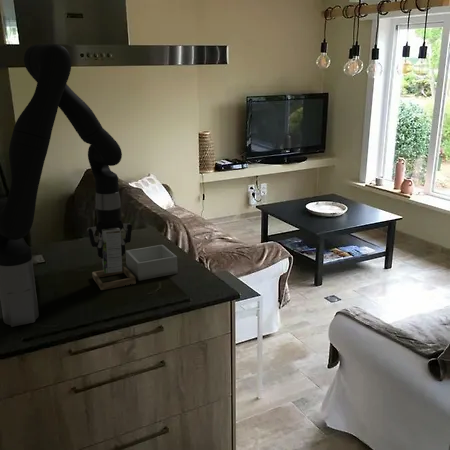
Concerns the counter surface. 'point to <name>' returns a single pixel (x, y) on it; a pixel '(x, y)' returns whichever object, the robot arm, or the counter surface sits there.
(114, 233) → the syrup box
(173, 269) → the bin
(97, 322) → the counter surface
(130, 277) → the socket collar
